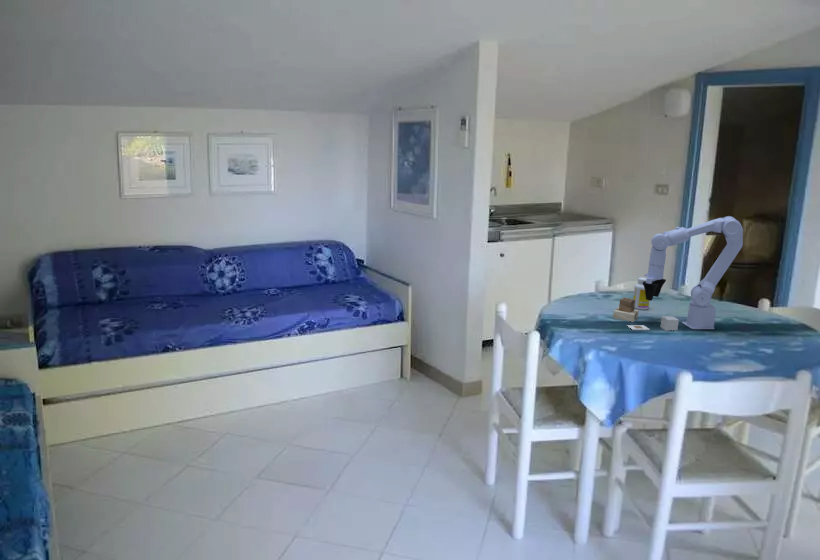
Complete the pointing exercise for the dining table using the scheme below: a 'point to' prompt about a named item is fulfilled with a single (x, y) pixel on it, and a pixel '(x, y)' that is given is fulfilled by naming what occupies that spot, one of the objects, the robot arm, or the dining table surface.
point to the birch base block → (625, 315)
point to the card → (638, 327)
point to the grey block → (669, 323)
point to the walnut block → (627, 305)
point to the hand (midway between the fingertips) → (652, 298)
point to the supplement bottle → (640, 295)
